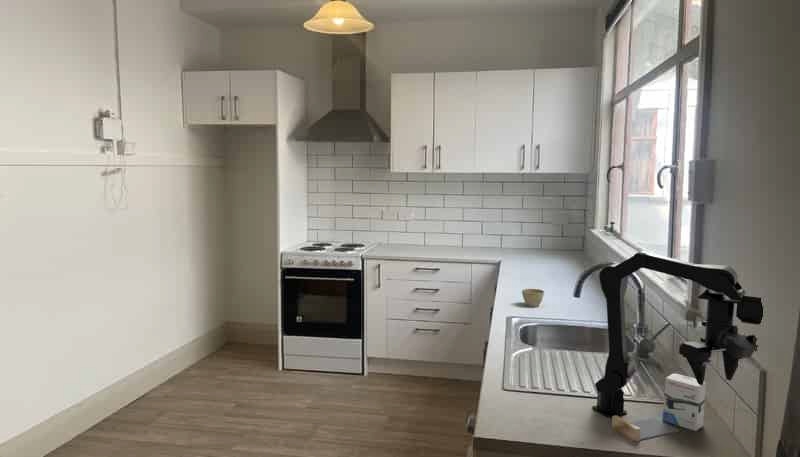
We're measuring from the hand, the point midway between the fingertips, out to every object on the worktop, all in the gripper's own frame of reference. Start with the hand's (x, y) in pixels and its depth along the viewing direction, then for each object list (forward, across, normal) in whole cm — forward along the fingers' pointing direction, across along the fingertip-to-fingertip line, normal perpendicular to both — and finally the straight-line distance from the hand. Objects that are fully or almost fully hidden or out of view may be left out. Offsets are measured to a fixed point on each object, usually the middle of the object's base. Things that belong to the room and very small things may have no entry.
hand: (714, 382), depth 144 cm
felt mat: (+14, -12, +8) cm, 20 cm away
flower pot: (+14, +34, +128) cm, 134 cm away
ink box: (+14, -1, +8) cm, 16 cm away
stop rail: (+14, -19, +8) cm, 25 cm away
